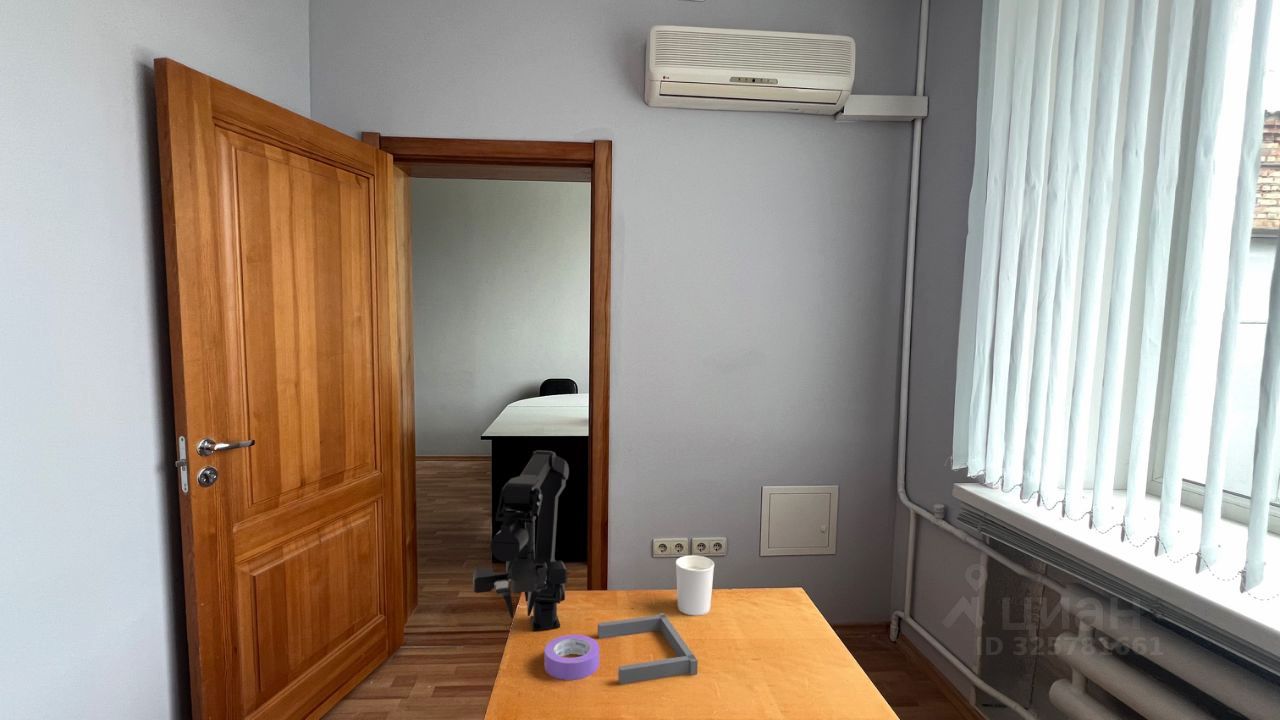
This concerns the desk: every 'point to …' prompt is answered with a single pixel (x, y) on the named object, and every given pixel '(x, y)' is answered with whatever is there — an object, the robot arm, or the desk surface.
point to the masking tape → (571, 666)
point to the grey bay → (651, 669)
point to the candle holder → (694, 584)
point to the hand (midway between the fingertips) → (520, 616)
